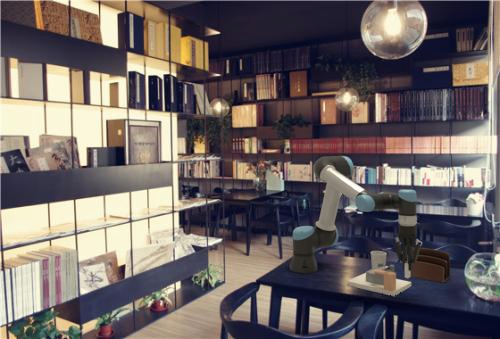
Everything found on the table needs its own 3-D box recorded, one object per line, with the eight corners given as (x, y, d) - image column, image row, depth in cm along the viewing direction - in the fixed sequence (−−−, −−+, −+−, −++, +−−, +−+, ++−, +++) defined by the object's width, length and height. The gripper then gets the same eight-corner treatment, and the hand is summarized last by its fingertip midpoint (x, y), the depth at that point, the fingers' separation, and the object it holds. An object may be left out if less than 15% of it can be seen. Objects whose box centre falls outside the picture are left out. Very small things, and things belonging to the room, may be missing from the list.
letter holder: (411, 271, 233) (411, 245, 232) (450, 278, 220) (450, 251, 219) (404, 275, 225) (404, 249, 225) (444, 283, 212) (444, 255, 212)
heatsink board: (347, 285, 211) (347, 267, 210) (365, 276, 225) (366, 259, 224) (394, 296, 194) (394, 276, 194) (411, 286, 208) (411, 267, 208)
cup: (387, 277, 222) (387, 254, 221) (371, 277, 223) (371, 254, 223) (385, 273, 229) (385, 251, 229) (370, 272, 231) (370, 250, 230)
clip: (373, 287, 201) (373, 271, 201) (377, 285, 204) (377, 269, 204) (392, 291, 195) (392, 274, 195) (395, 289, 198) (396, 272, 198)
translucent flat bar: (368, 273, 205) (368, 270, 205) (383, 267, 216) (383, 265, 216) (375, 274, 202) (375, 272, 202) (390, 268, 214) (390, 266, 214)
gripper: (389, 224, 192) (389, 276, 193) (418, 227, 184) (418, 282, 185) (397, 222, 198) (397, 272, 199) (425, 225, 189) (425, 278, 190)
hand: (407, 277), depth 192 cm, fingers closed
